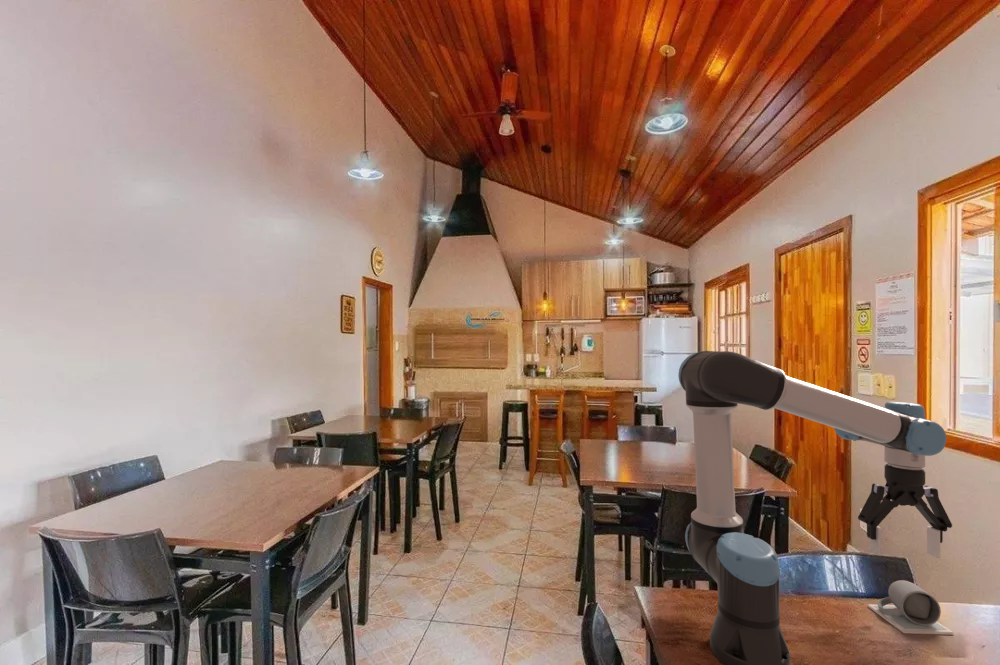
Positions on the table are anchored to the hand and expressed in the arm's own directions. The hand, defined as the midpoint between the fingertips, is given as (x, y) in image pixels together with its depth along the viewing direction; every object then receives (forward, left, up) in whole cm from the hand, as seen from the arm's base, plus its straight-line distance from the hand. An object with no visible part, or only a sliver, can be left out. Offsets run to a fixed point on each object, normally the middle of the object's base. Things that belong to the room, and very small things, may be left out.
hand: (904, 554), depth 112 cm
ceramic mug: (0, 0, -15) cm, 15 cm away
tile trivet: (+1, 0, -16) cm, 16 cm away
